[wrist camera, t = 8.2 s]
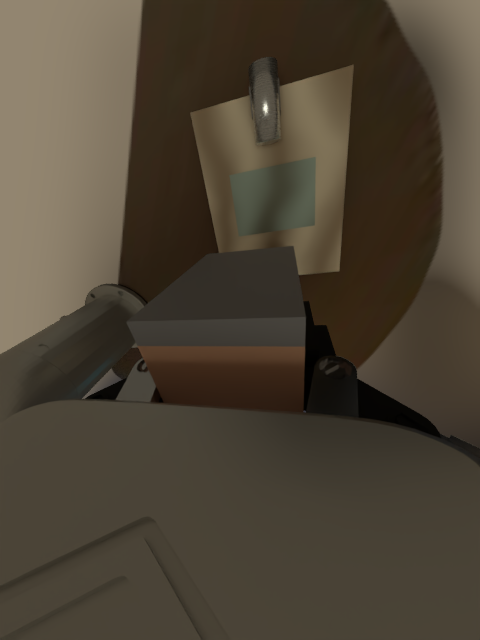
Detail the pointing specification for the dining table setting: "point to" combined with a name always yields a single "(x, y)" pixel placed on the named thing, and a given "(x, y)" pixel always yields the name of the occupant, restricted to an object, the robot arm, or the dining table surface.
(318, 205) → the base
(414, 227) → the dining table surface
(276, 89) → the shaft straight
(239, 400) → the orange and grey block
